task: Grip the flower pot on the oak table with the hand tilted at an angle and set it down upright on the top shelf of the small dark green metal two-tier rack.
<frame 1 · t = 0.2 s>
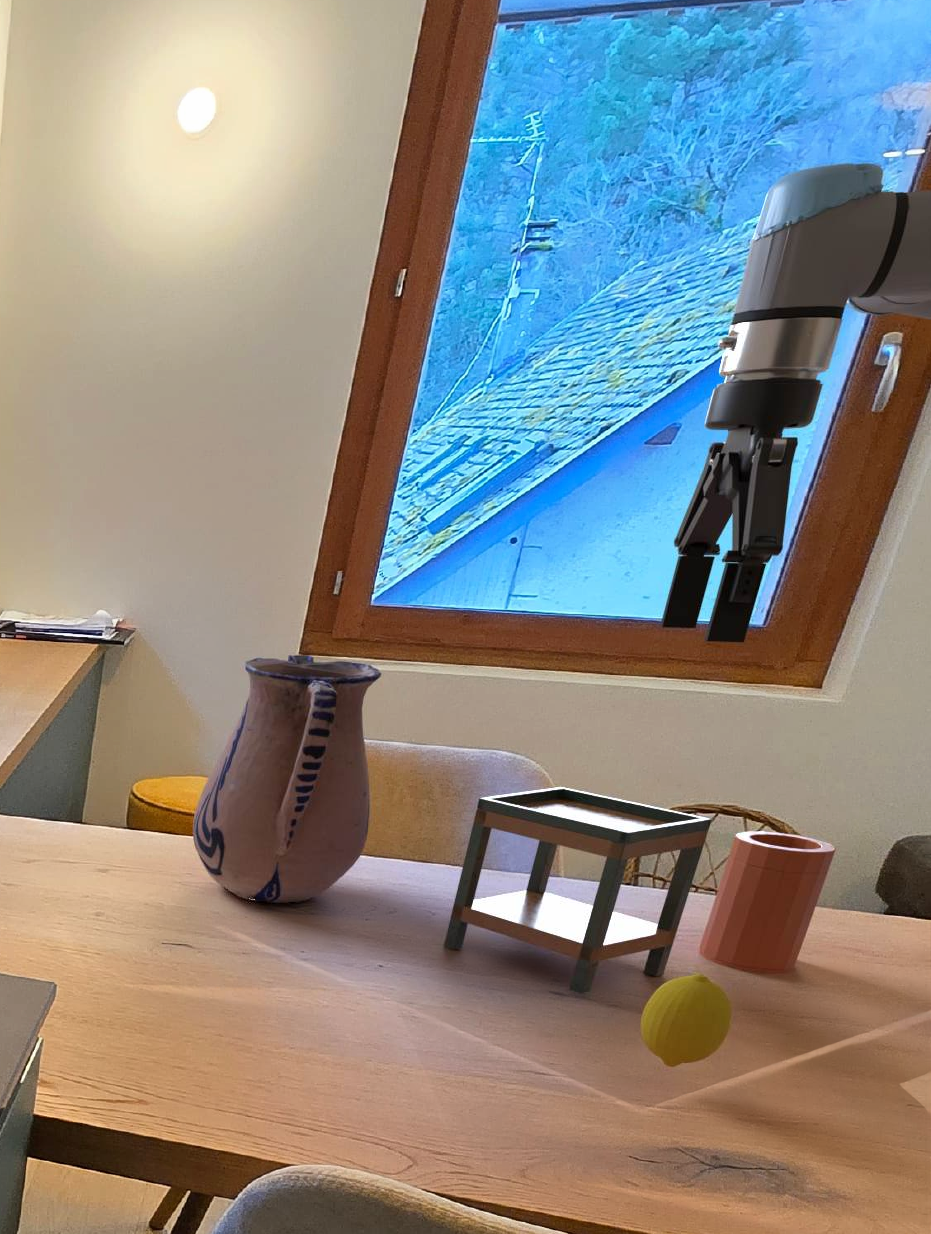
hand: (699, 634, 121), 30 cm above the table, tool pointing down, fingers open, 13 cm apart
rack: (550, 960, 127), on the table
flower pot: (744, 961, 127), on the table
ceramic pitcher: (270, 897, 145), on the table
lemon: (668, 1068, 105), on the table
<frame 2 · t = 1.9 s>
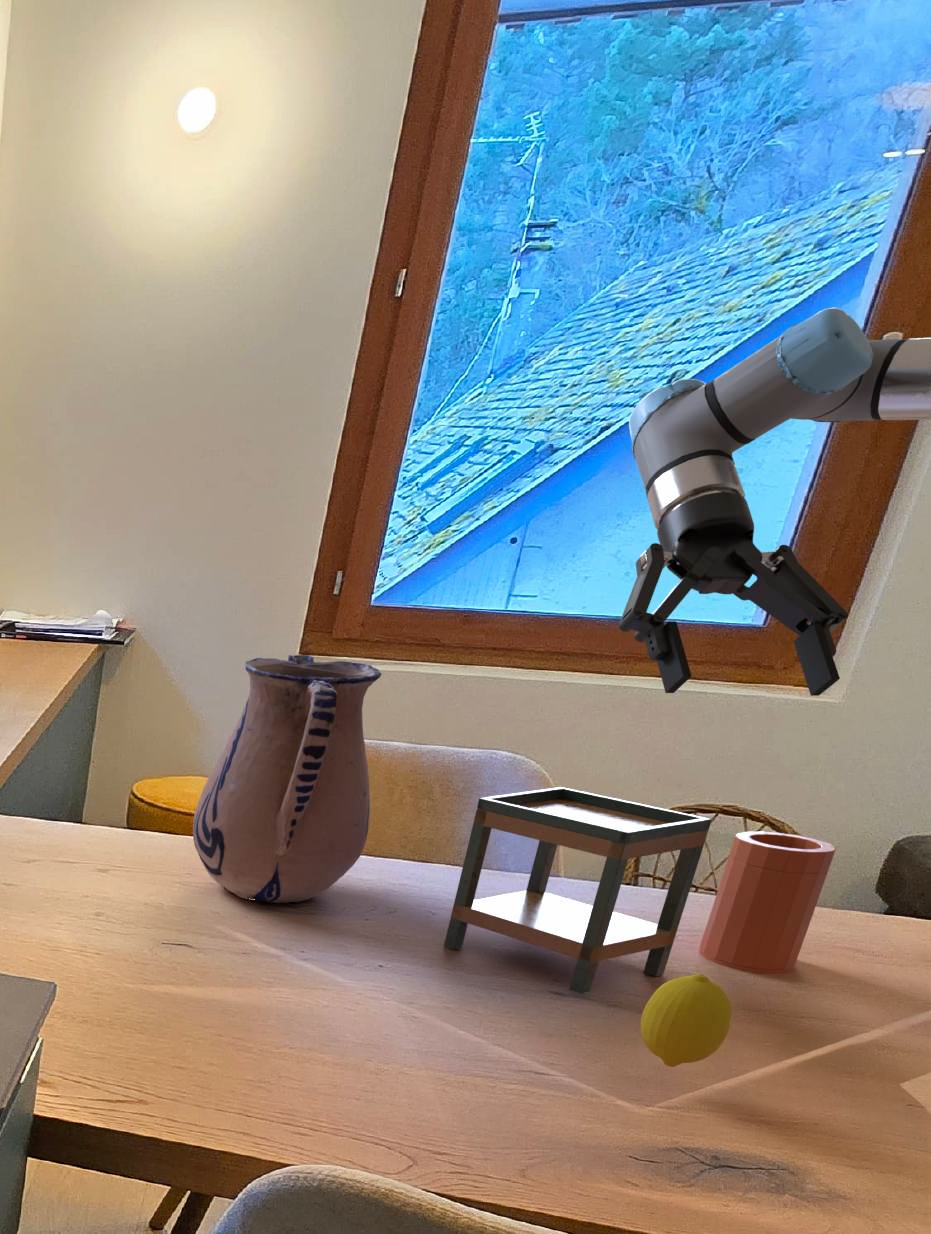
hand: (751, 686, 127), 25 cm above the table, tool tilted 45°, fingers open, 13 cm apart
nothing on the table moved.
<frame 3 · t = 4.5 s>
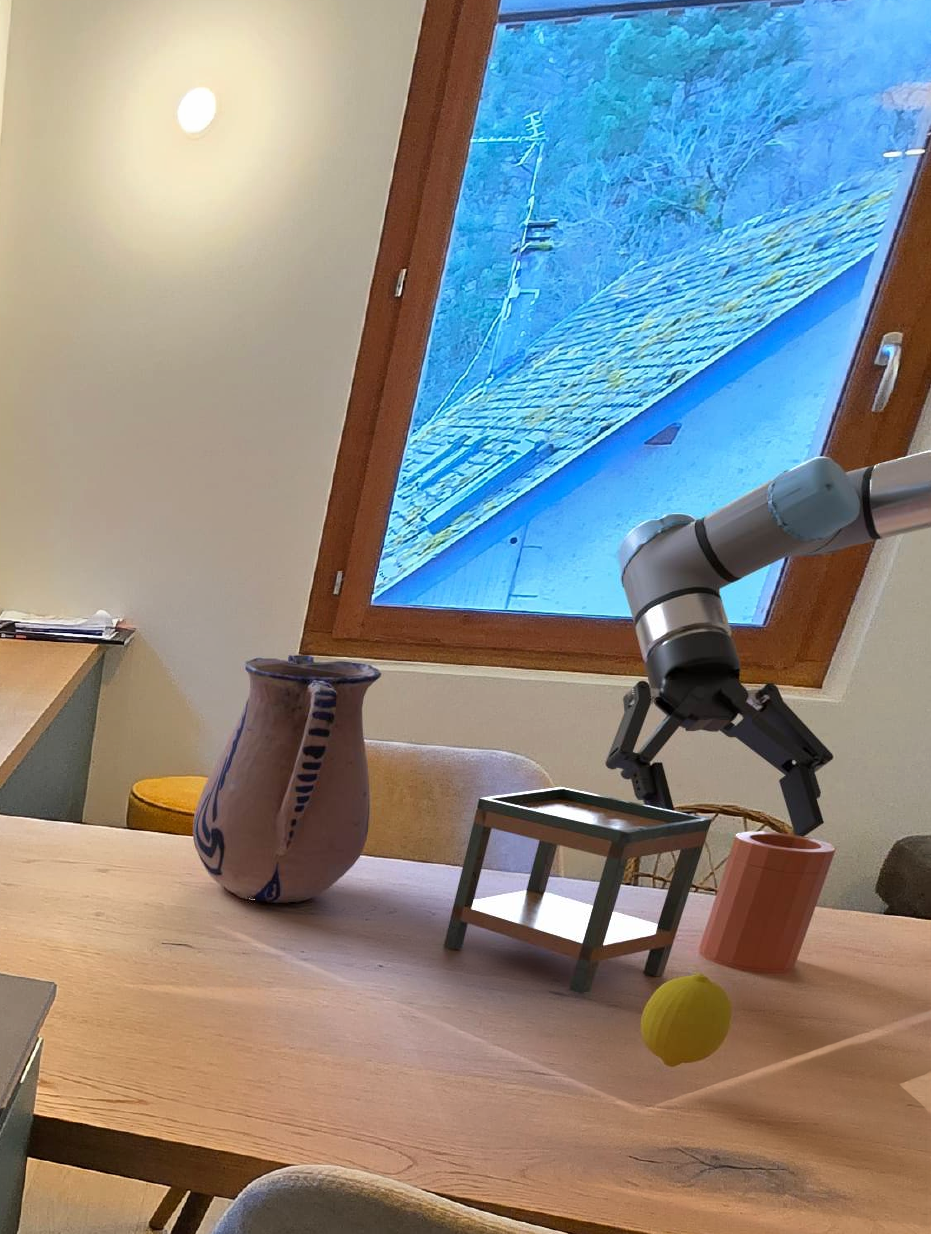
hand: (736, 828, 129), 12 cm above the table, tool tilted 45°, fingers open, 13 cm apart
nothing on the table moved.
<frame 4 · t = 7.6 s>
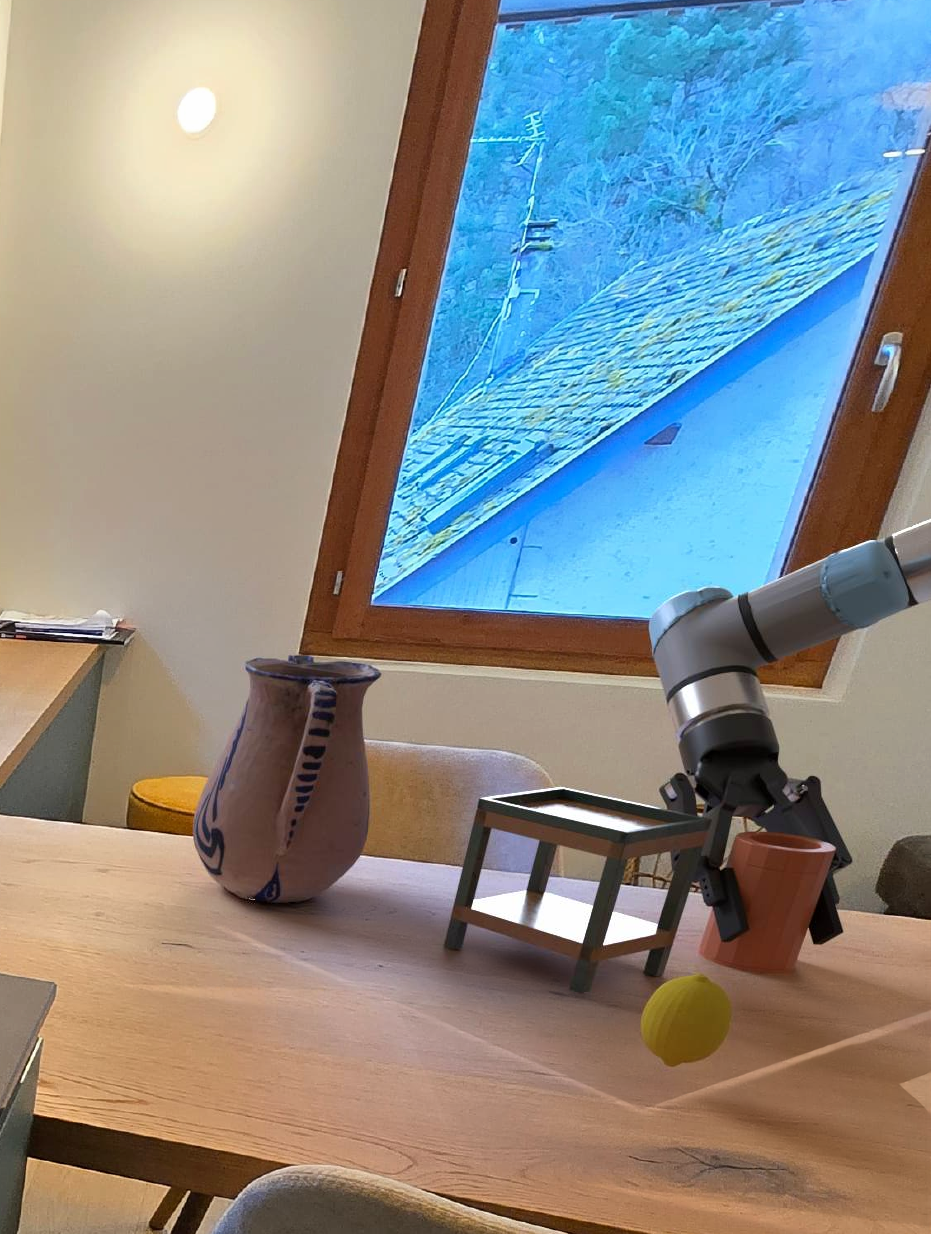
hand: (781, 936, 122), 4 cm above the table, tool tilted 45°, fingers closed on flower pot, 7 cm apart
flower pot: (744, 961, 127), on the table, touching gripper
everything else where it was.
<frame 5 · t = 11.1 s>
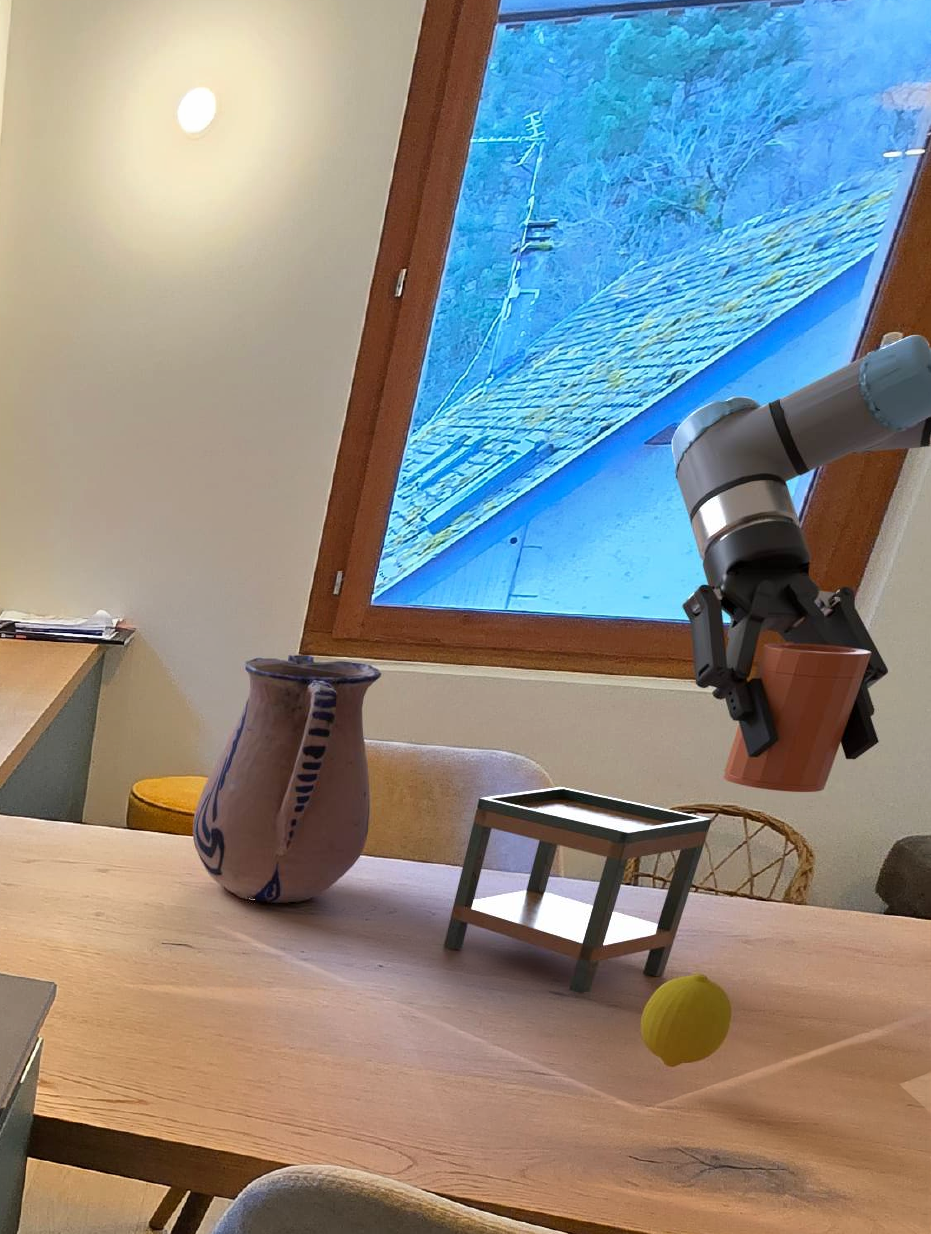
hand: (812, 749, 116), 21 cm above the table, tool tilted 45°, fingers closed on flower pot, 7 cm apart
flower pot: (772, 783, 120), point 17 cm above the table, touching gripper
everything else where it was.
when the fingers open (18 cm above the table, at t = 15.0 s): flower pot stays where it is, resting on rack.
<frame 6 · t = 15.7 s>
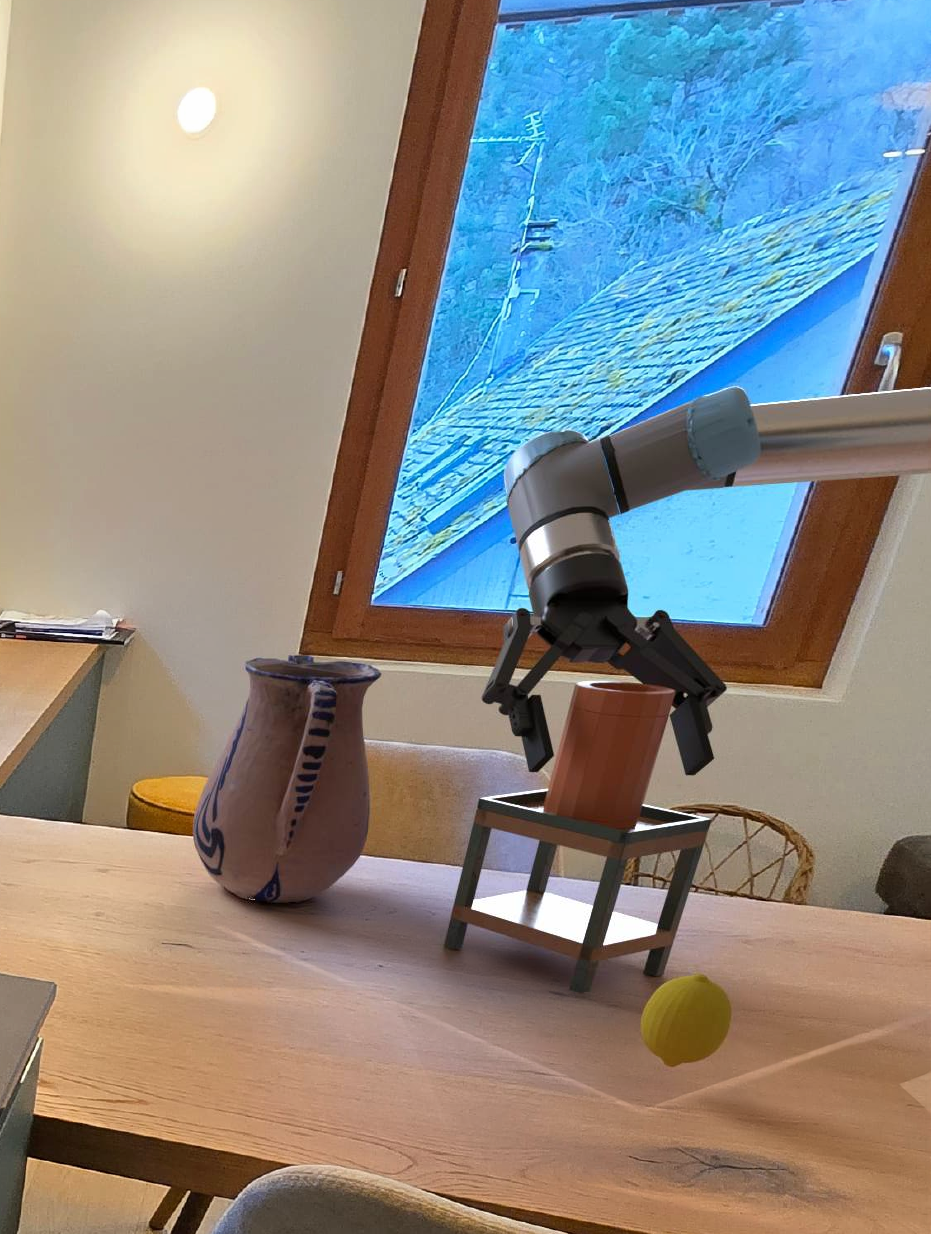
hand: (620, 766, 117), 19 cm above the table, tool tilted 45°, fingers open, 13 cm apart
flower pot: (588, 818, 122), point 14 cm above the table, touching rack
everything else where it was.
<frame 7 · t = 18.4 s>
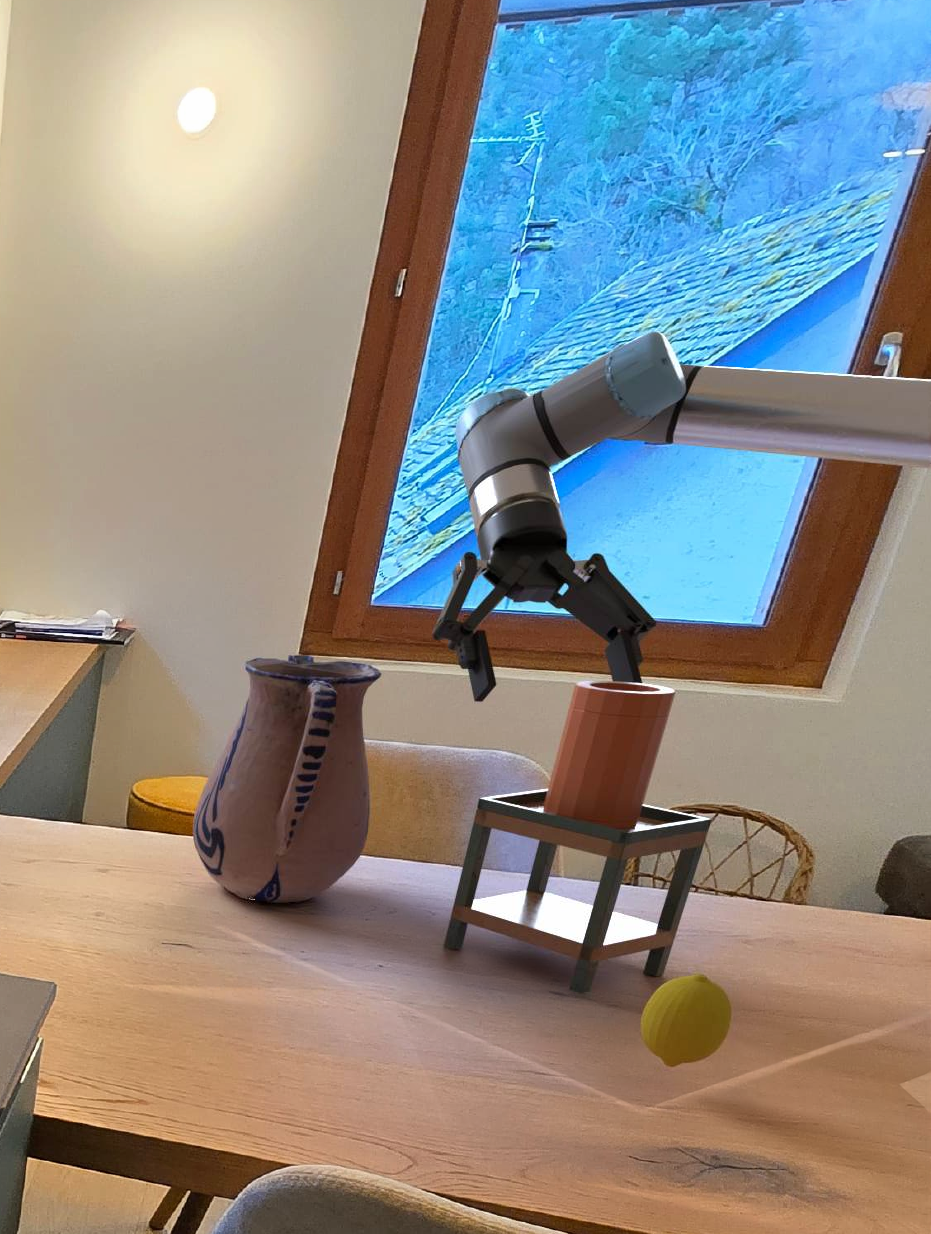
hand: (558, 694, 127), 24 cm above the table, tool tilted 45°, fingers open, 13 cm apart
nothing on the table moved.
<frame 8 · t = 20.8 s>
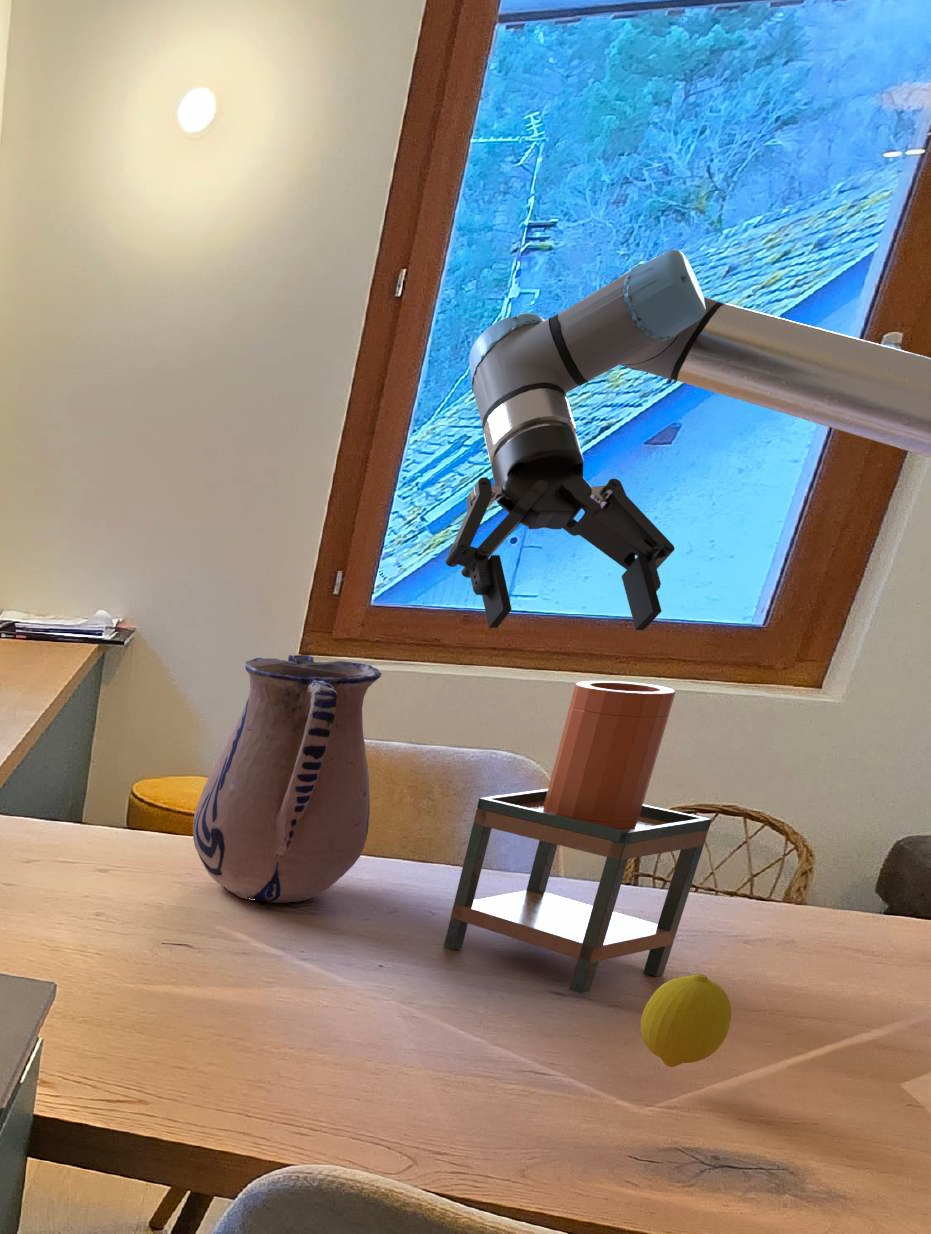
hand: (574, 620, 125), 31 cm above the table, tool tilted 45°, fingers open, 13 cm apart
nothing on the table moved.
at the end: flower pot inside the target area on the rack (0.1 cm from its centre), point 14.0 cm above the rack's base; flower pot tilted 0°; the gripper is holding nothing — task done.
